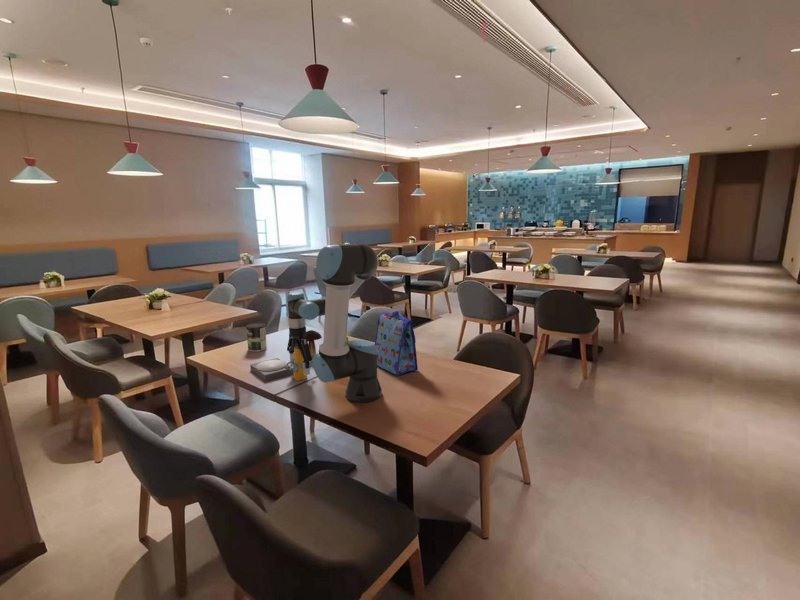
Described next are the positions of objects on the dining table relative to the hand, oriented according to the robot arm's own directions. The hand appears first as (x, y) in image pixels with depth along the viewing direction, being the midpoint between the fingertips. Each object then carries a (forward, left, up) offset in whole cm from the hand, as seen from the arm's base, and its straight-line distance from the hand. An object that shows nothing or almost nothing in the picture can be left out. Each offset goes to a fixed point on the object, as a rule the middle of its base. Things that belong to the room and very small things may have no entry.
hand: (299, 370), depth 185 cm
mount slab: (+16, +7, -4) cm, 18 cm away
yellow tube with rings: (0, 0, -4) cm, 4 cm away
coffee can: (+55, -1, -4) cm, 55 cm away
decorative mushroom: (+22, -18, -4) cm, 29 cm away
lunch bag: (-18, -42, -4) cm, 46 cm away
